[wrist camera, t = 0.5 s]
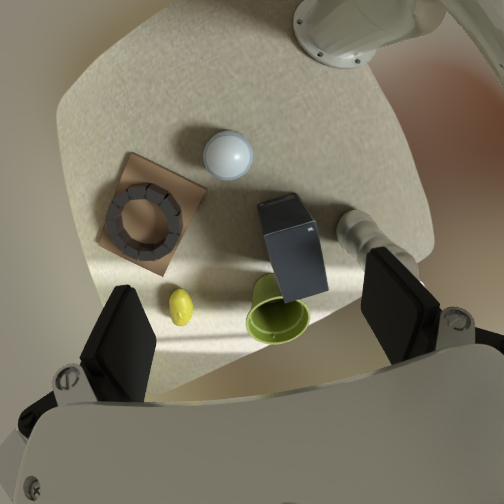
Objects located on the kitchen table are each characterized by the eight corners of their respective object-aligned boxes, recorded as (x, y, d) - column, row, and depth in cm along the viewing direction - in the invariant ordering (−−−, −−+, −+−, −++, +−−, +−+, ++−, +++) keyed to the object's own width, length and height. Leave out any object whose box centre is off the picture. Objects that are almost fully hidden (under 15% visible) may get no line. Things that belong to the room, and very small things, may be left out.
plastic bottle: (368, 202, 40) (446, 269, 23) (368, 240, 43) (433, 318, 26) (330, 209, 40) (396, 284, 23) (333, 247, 44) (387, 334, 26)
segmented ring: (127, 170, 34) (120, 174, 32) (195, 204, 38) (193, 210, 35) (104, 234, 39) (98, 241, 36) (165, 263, 42) (162, 272, 40)
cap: (220, 122, 33) (218, 123, 29) (258, 143, 35) (262, 147, 31) (198, 160, 36) (193, 166, 32) (236, 180, 38) (237, 189, 33)
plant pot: (237, 270, 44) (239, 304, 37) (295, 258, 44) (308, 290, 37) (249, 313, 49) (252, 349, 41) (300, 302, 49) (311, 337, 41)
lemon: (170, 316, 48) (166, 331, 45) (171, 281, 45) (167, 295, 41) (192, 319, 49) (190, 334, 46) (195, 284, 45) (193, 299, 42)
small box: (253, 204, 39) (260, 235, 30) (297, 191, 39) (317, 217, 30) (273, 264, 44) (283, 306, 35) (311, 252, 44) (331, 291, 35)
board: (133, 152, 34) (131, 153, 33) (207, 188, 38) (206, 190, 37) (100, 242, 40) (98, 245, 39) (164, 273, 44) (162, 276, 43)
